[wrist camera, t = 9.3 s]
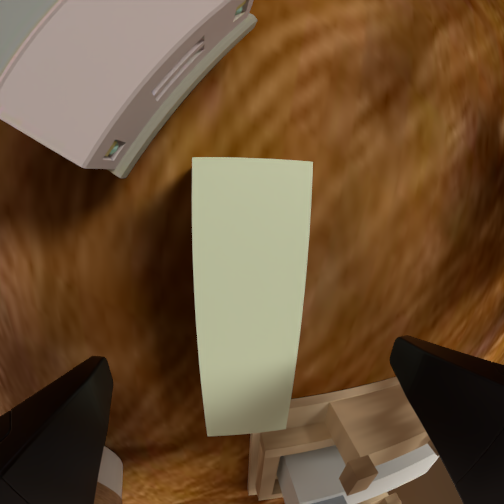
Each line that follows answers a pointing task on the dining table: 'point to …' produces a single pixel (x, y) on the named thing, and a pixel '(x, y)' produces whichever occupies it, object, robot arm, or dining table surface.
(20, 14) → the toy vehicle
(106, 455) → the coffee cup
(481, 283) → the dining table surface
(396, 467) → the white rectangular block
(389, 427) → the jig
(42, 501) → the robot arm
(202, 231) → the pale green rectangular block
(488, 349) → the dining table surface
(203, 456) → the dining table surface
